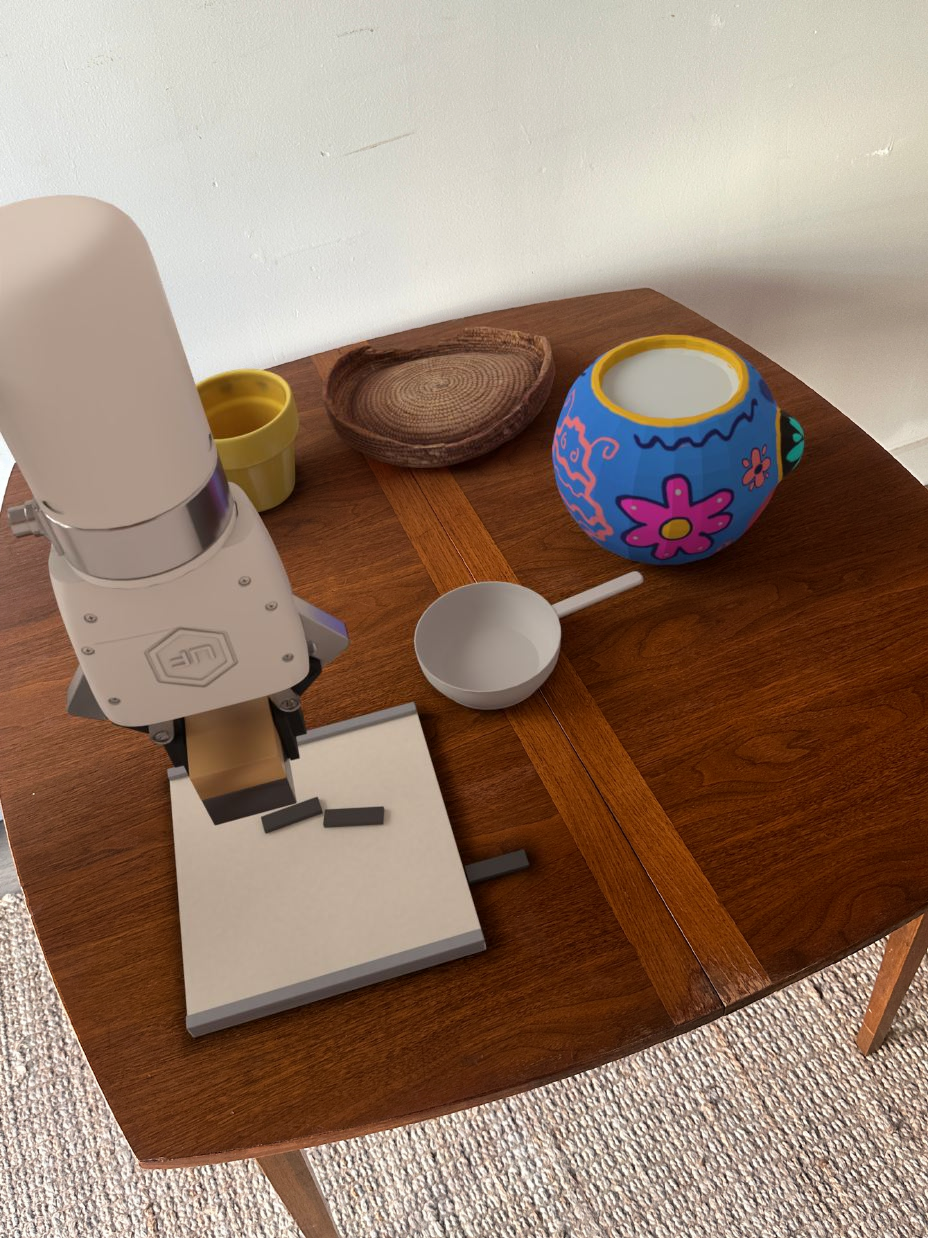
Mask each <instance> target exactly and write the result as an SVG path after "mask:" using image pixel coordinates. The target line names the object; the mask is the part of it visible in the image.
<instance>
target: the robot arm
mask: <svg viewBox="0 0 928 1238" xmlns="http://www.w3.org/2000/svg"><path fill="white" fill-rule="evenodd" d="M187 357H188V356H187V355H186V351H185V348H184V346H183V342H182V339H181V336H180V333H179V331H178V326H177V324H176V321H175V318H174V315H173V311H172V309H171V306H170V302H169V300H168V297H167V294H166V289H165V288H164V284H163V282H162V279H161V276H160V272H159V270H158V267H157V263H156V261H155V258H154V256H153V253H152V251H151V248H150V244H149V243H148V240H147V238H146V237H145V234H144V233H143V231H142V230H141V228H140V227H139V225H138V224H137V223H136V222H135V221H134V220H133V219H132V217H131V216H130V215H128V214H127V213H126V212H124V211H123V210H122V209H120V208H119V207H118V206H116V205H115V204H112V203H110V202H107V201H105V200H101V199H98V198H96V197H91V196H85V195H78V194H77V195H76V194H57V195H56V194H55V195H45V196H40V197H39V196H37V197H32V198H28V199H22V200H18V201H15V202H12V203H9V204H4V205H3V206H0V434H1V435H0V436H1V437H2V438H3V440H4V442H5V444H6V446H7V448H8V450H9V452H10V454H11V456H12V458H13V460H14V461H15V463H16V465H17V467H18V469H19V470H20V471H19V472H20V473H21V474H22V476H23V478H24V480H25V482H26V484H27V487H28V488H29V490H30V492H31V493H32V498H31V499H28V500H24V503H23V504H20V505H19V504H18V505H15V506H10V507H8V508H7V520H8V523H9V524H8V525H9V527H10V529H11V533H12V534H13V535H14V537H15V538H16V539H20V538H26V537H29V536H34V537H35V538H41V537H44V539H46V540H47V541H48V542H51V545H50V552H49V556H48V562H47V564H48V565H47V567H48V573H49V578H50V583H51V586H52V591H53V593H54V596H55V601H56V604H57V607H58V610H59V613H60V616H61V618H62V622H63V624H64V627H65V630H66V632H67V635H68V637H69V640H70V643H71V646H72V649H73V650H74V652H75V656H76V658H77V660H78V662H79V663H78V665H77V668H76V670H75V672H74V674H73V676H72V679H71V681H70V682H69V685H68V688H67V690H66V713H67V714H68V715H70V716H73V717H77V718H83V719H90V720H96V721H105V720H109V721H110V723H111V724H112V725H114V726H116V727H120V728H123V729H128V730H132V731H136V732H140V733H144V734H147V735H149V740H150V742H152V743H153V744H155V745H159V746H160V745H162V746H163V748H164V749H165V751H166V753H167V756H168V757H169V759H170V761H171V763H172V766H173V767H175V768H177V767H181V766H184V768H185V770H186V772H187V774H188V776H189V764H188V753H187V741H186V729H185V718H184V717H185V716H189V715H193V714H197V713H201V712H205V711H209V710H213V709H217V708H221V707H225V706H229V705H233V704H237V703H240V702H244V701H248V700H252V699H256V698H259V697H263V696H268V697H269V700H270V706H271V713H272V718H273V722H274V725H275V727H276V730H277V732H278V735H279V737H280V741H281V742H282V745H283V747H284V750H285V753H286V755H287V758H288V759H290V760H291V761H292V760H296V759H300V755H299V750H298V744H297V739H296V737H297V736H301V735H305V734H307V731H308V730H307V726H306V720H305V717H304V712H303V709H302V706H301V705H302V702H301V701H302V700H301V697H302V696H303V694H304V693H305V692H306V691H307V690H308V689H309V688H310V687H311V685H312V684H313V683H314V682H315V681H316V680H317V679H318V678H319V676H320V675H322V673H323V667H324V666H325V665H329V664H331V663H332V662H333V661H334V660H335V659H336V658H337V657H339V656H340V655H341V654H342V653H343V652H344V651H346V650H347V649H348V648H349V647H350V645H351V640H350V636H349V632H348V628H347V625H346V623H345V622H344V621H342V620H340V619H339V618H338V617H335V616H333V615H331V614H330V613H328V612H326V611H324V610H322V609H321V608H319V607H317V606H315V605H313V604H312V603H310V602H308V601H306V600H305V599H303V598H301V597H299V596H298V595H296V594H295V592H294V589H293V587H292V584H291V582H290V579H289V577H288V574H287V572H286V569H285V566H284V564H283V561H282V558H281V557H280V554H279V552H278V550H277V547H276V545H275V544H274V540H273V538H272V537H271V535H270V533H269V531H268V529H267V528H266V525H265V523H264V521H263V519H262V518H261V516H260V514H259V512H257V511H256V509H255V507H254V506H253V504H252V503H251V501H250V500H249V498H248V497H247V495H246V494H245V492H244V491H243V490H242V489H241V488H240V487H239V486H238V485H236V484H235V483H233V482H228V481H227V478H226V475H225V472H224V469H223V466H222V463H221V460H220V457H219V454H218V451H217V448H216V445H215V442H214V439H213V436H212V433H211V430H210V427H209V424H208V421H207V418H206V415H205V412H204V409H203V406H202V403H201V400H200V397H199V394H198V391H197V388H196V382H195V379H194V376H193V372H192V370H191V366H190V364H189V360H188V358H187ZM189 778H190V776H189Z"/></svg>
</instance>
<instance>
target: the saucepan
mask: <svg viewBox="0 0 928 1238" xmlns="http://www.w3.org/2000/svg"><path fill="white" fill-rule="evenodd" d="M643 583H644V576H643V575H642V573H641V572H639V571H635V570H634V571H631V572H627V573H625V574H623V575H620V576H618V577H617V578H613V579H611V580H608V581H606V582H604V583H601V584H599V585H597V586H595V587H592V588H590V589H587V590H585V591H582V592H580V593H577V594H575V595H573V596H571V597H568V598H565V599H563V600H561V601H558V602H556V603H554V604H550V602H549V601H548V600H547V599H546V598H544V597H543V596H542V595H541V594H539V593H537V592H536V591H534V590H533V589H531V588H528V587H525V586H523V585H520V584H516V583H513V582H507V581H481V582H474V583H470V584H465V585H463V586H459V587H457V588H455V589H453V590H450V591H448V592H446V593H445V594H443V595H441V596H440V597H438V598H437V599H436V600H435V601H434V602H432V603H431V604H430V605H429V606H428V607H427V609H426V610H425V611H424V612H423V613H422V615H421V616H420V618H419V620H418V622H417V625H416V628H415V631H414V637H413V644H414V651H415V654H416V658H417V661H418V663H419V666H420V668H421V671H422V673H423V674H424V677H426V679H427V681H428V682H429V683H430V684H431V685H432V687H434V688H435V689H436V690H437V691H438V692H440V693H441V694H442V695H444V696H445V697H447V698H448V699H450V700H453V701H454V702H456V703H457V704H460V705H462V706H464V707H467V708H471V709H476V710H484V711H485V710H486V711H488V710H499V709H506V708H508V707H512V706H515V705H516V704H518V703H520V702H522V701H524V700H526V699H527V698H529V697H531V696H532V695H533V694H534V693H535V692H536V691H537V690H538V689H539V688H540V687H541V686H542V685H543V684H544V683H545V682H546V680H547V679H548V678H549V676H550V675H551V674H552V672H553V671H554V669H555V667H556V665H557V663H558V659H559V655H560V651H561V650H560V649H561V646H562V645H561V642H562V641H561V639H562V627H561V623H560V618H563V617H565V616H568V615H570V614H573V613H575V612H577V611H578V612H579V610H583V609H584V608H587V607H589V606H592V605H594V604H597V603H599V602H601V601H604V600H606V599H608V598H611V597H615V596H616V595H619V594H620V593H623V592H626V591H628V590H630V589H633V588H635V587H637V586H640V585H642V584H643Z"/></svg>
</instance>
